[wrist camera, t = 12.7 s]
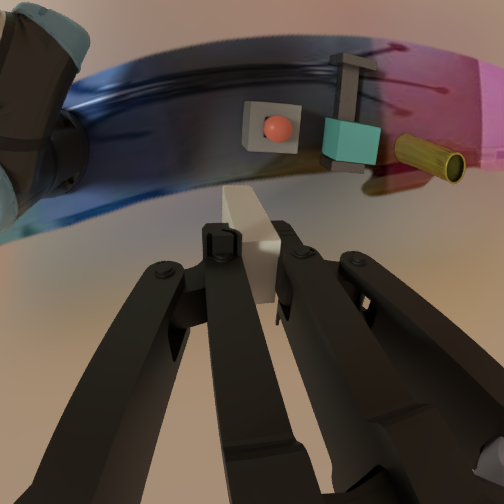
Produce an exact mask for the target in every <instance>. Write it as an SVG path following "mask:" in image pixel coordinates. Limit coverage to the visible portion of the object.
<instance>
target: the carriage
mask: <svg viewBox="0 0 504 504" xmlns="http://www.w3.org/2000/svg"><path fill="white" fill-rule="evenodd" d="M380 130H381V128H378V127H374V126H370V125H366V124H361V123H357V122H349V121H343V120H337V119H332V118H325V128H324V137H323V145H322V152H323V154H325V155H327V156H328V157H330V158H332V159H334V160H336V161H346V162H355V163H363V164H371V165H375V164H376V157H377V151H378V145H379V138H380Z"/></svg>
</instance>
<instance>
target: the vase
mask: <svg viewBox="0 0 504 504" xmlns="http://www.w3.org/2000/svg"><path fill="white" fill-rule="evenodd" d="M395 155H396V157H397V159H398V160H399V161H400V162H401V163H404V164H408V165H411V166H413V167H416V168H418V169H420V170H423V171H426V172H428V173H430V174H432V175H435V176H437V177H439V178H441V179H444V180H446V181H448V182H450V183H451V184H456V183H458V182H459V181H460V180H461V179H462V177H463V176H464V173H465V169H466V163H465V159H464V157H463V155H462V154H460V153H458V152H455V151H452V150H450V149H448V148H445V147H442V146H439V145H436V144H434V143H431V142H428V141H426V140H423V139H421V138H418V137H415V136H413V135H412V134H409V133H405V134H402V135H401V136H400V137H399V138H398V139H397V141H396V143H395Z"/></svg>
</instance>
